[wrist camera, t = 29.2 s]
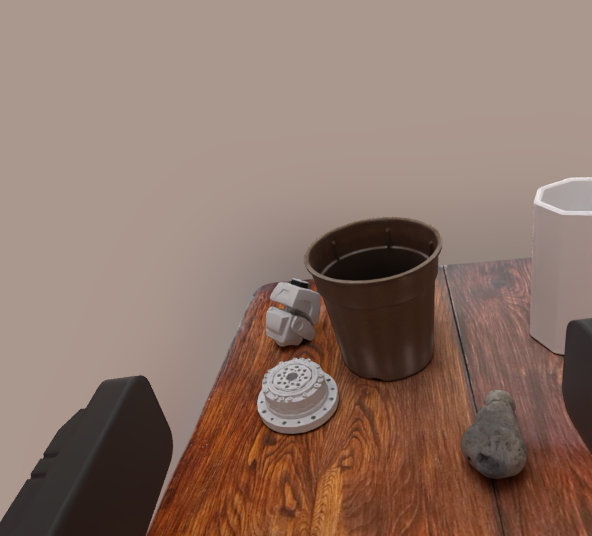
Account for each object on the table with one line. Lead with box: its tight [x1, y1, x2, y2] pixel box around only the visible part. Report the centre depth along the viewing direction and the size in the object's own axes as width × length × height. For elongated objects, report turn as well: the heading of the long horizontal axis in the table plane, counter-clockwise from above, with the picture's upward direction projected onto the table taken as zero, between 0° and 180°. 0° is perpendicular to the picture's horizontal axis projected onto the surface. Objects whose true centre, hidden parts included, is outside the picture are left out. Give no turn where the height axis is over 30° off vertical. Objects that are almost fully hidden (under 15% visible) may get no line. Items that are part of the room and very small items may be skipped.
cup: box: [530, 177, 592, 355], centre depth 56 cm, size 11×11×18 cm
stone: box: [461, 390, 527, 479], centre depth 47 cm, size 10×5×8 cm
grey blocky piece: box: [266, 278, 320, 347], centre depth 69 cm, size 6×7×10 cm
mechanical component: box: [257, 358, 339, 434], centre depth 58 cm, size 10×4×10 cm
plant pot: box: [304, 217, 442, 381], centre depth 60 cm, size 16×16×16 cm
